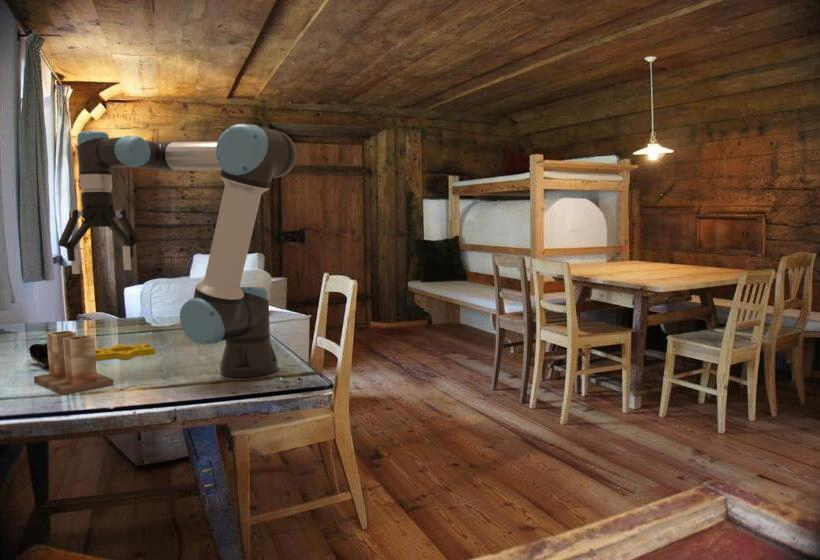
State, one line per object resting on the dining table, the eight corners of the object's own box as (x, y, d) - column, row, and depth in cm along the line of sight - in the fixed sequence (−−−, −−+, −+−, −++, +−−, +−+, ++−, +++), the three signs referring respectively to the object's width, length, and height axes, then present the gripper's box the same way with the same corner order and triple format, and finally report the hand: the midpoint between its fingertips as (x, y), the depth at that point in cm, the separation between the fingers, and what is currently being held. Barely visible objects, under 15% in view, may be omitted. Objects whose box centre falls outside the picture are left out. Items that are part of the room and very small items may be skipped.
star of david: (158, 357, 195) (158, 350, 194) (95, 365, 185) (95, 357, 185) (146, 347, 211) (146, 341, 211) (88, 354, 202) (88, 347, 202)
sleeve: (88, 377, 162) (85, 335, 161) (97, 380, 159) (94, 337, 158) (66, 381, 158) (63, 338, 157) (74, 385, 155) (71, 340, 154)
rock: (47, 385, 177) (103, 368, 187) (41, 353, 174) (98, 338, 184) (29, 364, 189) (83, 349, 199) (23, 334, 186) (78, 321, 196)
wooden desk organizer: (113, 384, 160) (110, 335, 159) (62, 395, 152) (58, 343, 150) (83, 373, 174) (79, 328, 173) (34, 382, 165) (30, 334, 164)
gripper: (135, 193, 180) (140, 268, 181) (40, 191, 161) (46, 275, 162) (149, 191, 175) (154, 268, 177) (52, 189, 156) (58, 276, 158)
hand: (102, 271), depth 170 cm, fingers open, 13 cm apart
